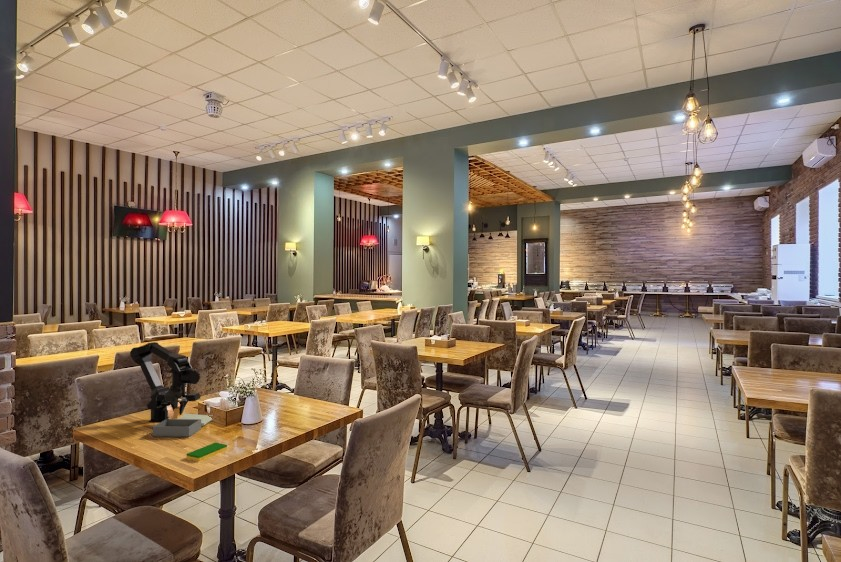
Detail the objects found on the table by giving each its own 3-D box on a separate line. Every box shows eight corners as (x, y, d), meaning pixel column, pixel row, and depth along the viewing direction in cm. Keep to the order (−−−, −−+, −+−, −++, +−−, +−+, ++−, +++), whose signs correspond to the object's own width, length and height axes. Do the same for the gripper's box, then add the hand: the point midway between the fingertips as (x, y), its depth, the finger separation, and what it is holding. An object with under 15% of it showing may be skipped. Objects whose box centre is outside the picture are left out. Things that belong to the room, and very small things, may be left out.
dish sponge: (227, 450, 183) (227, 444, 184) (198, 463, 171) (198, 456, 171) (215, 448, 186) (215, 442, 186) (185, 460, 174) (185, 453, 174)
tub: (152, 437, 197) (152, 426, 197) (166, 428, 208) (166, 419, 208) (188, 437, 197) (188, 427, 197) (201, 429, 208) (201, 419, 208)
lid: (169, 424, 211) (170, 410, 211) (181, 416, 222) (183, 404, 222) (203, 427, 211) (204, 413, 211) (214, 419, 222) (215, 407, 222)
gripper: (149, 386, 209) (148, 419, 209) (189, 386, 209) (189, 420, 209) (163, 380, 220) (162, 412, 220) (201, 381, 220) (200, 412, 220)
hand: (178, 414), depth 217 cm, fingers closed on lid, 2 cm apart
